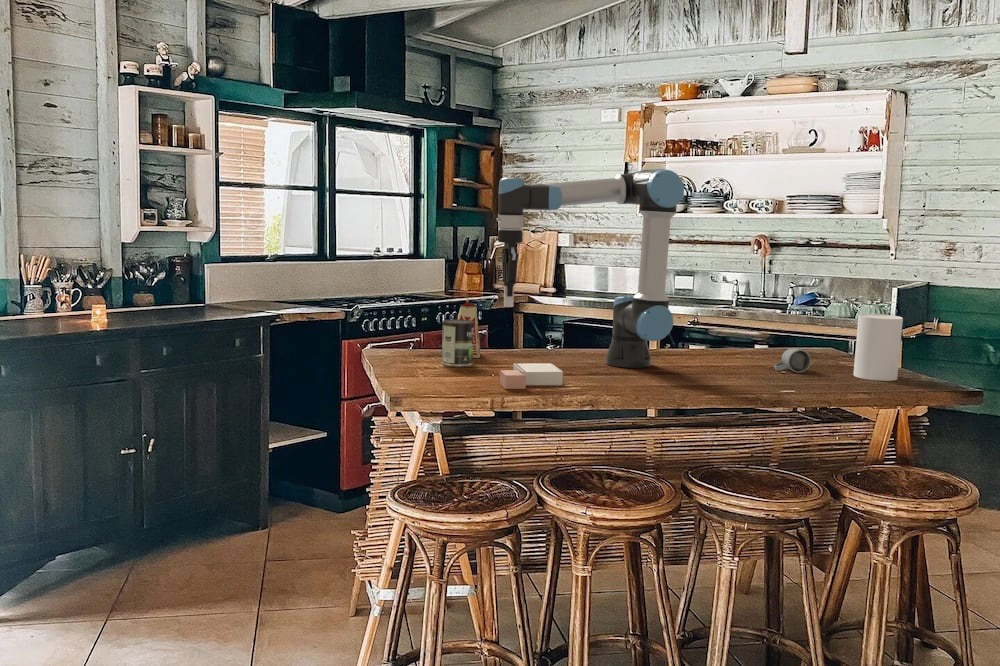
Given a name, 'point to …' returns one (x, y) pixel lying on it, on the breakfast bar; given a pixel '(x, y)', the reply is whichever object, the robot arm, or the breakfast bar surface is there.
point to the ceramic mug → (794, 361)
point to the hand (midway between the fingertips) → (508, 306)
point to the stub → (512, 379)
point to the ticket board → (540, 373)
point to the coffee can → (457, 342)
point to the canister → (878, 347)
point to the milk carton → (470, 313)
